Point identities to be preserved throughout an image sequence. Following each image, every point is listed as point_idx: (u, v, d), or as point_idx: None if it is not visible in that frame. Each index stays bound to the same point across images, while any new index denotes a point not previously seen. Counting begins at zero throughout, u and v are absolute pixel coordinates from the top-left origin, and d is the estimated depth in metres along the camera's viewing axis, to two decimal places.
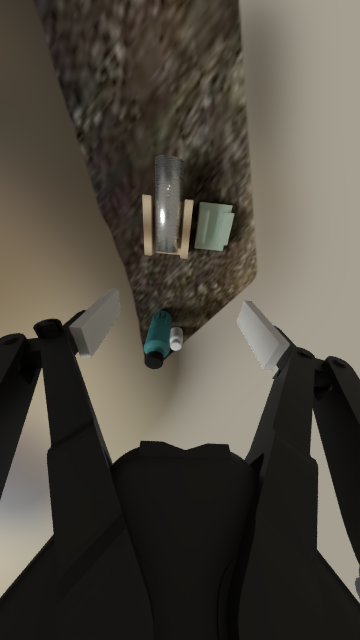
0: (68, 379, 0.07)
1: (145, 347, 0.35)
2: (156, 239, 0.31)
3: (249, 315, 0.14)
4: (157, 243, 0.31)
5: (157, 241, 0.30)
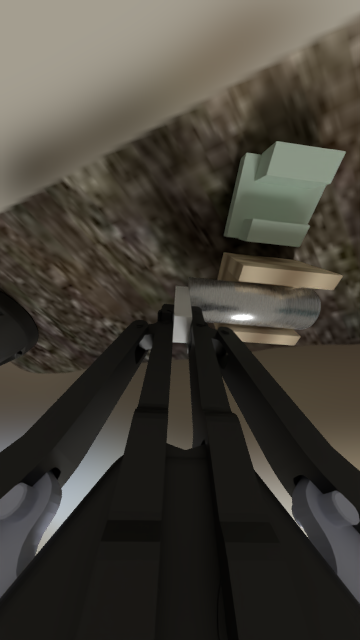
0: (163, 361, 0.08)
1: None
2: None
3: None
4: (289, 328, 0.18)
5: None
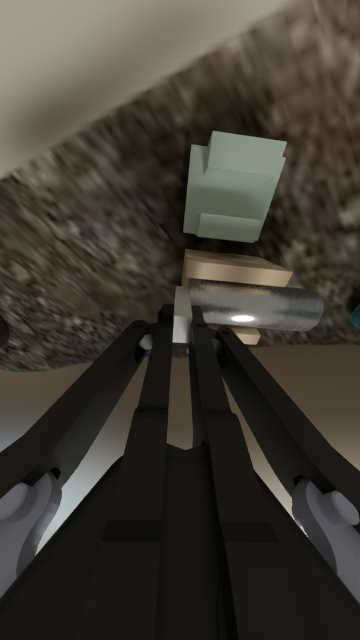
0: (163, 361, 0.08)
1: None
2: (283, 329, 0.18)
3: None
4: (291, 329, 0.17)
5: (288, 329, 0.17)
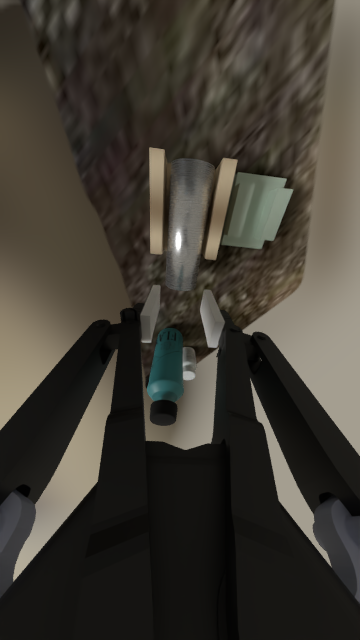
0: (132, 362, 0.08)
1: (149, 389, 0.24)
2: (168, 272, 0.22)
3: (205, 302, 0.16)
4: (169, 278, 0.22)
5: (169, 275, 0.22)
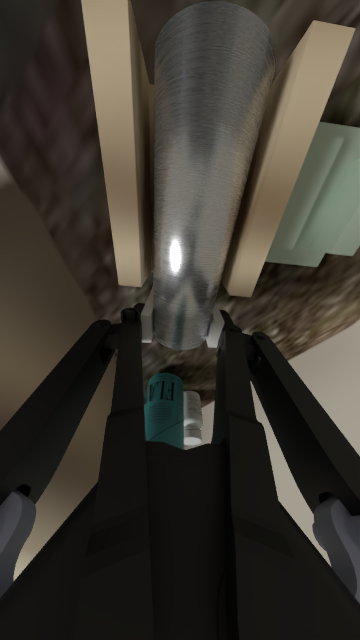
0: (133, 361, 0.08)
1: None
2: (156, 317, 0.12)
3: None
4: (158, 327, 0.12)
5: (158, 323, 0.12)
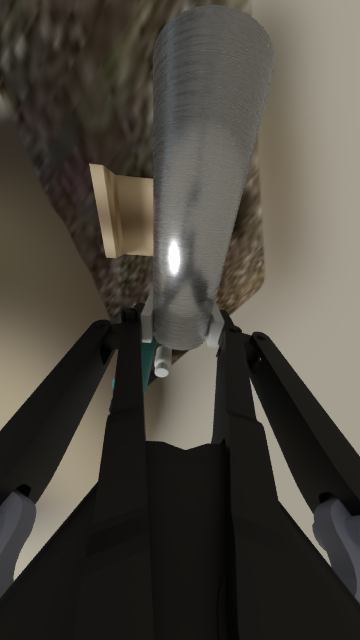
0: (133, 361, 0.08)
1: (113, 384, 0.26)
2: (155, 317, 0.12)
3: None
4: (158, 327, 0.12)
5: (158, 323, 0.12)
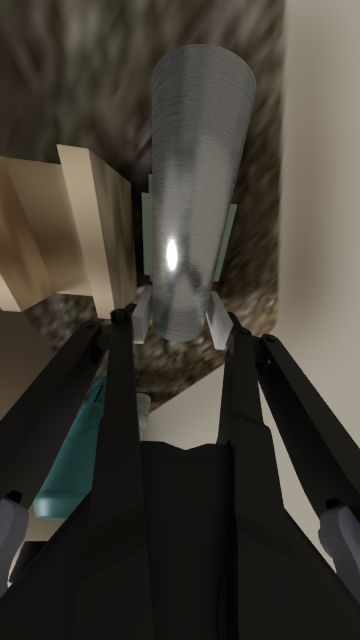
0: (124, 363, 0.08)
1: (34, 506, 0.16)
2: (155, 311, 0.13)
3: (211, 303, 0.15)
4: (157, 320, 0.13)
5: (157, 317, 0.12)
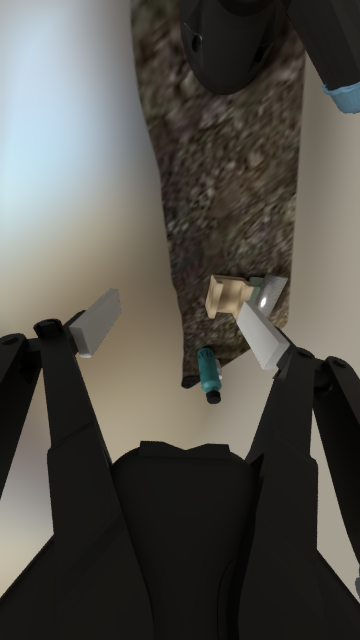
0: (68, 379, 0.07)
1: (204, 385, 0.45)
2: None
3: (249, 315, 0.14)
4: None
5: None
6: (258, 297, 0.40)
